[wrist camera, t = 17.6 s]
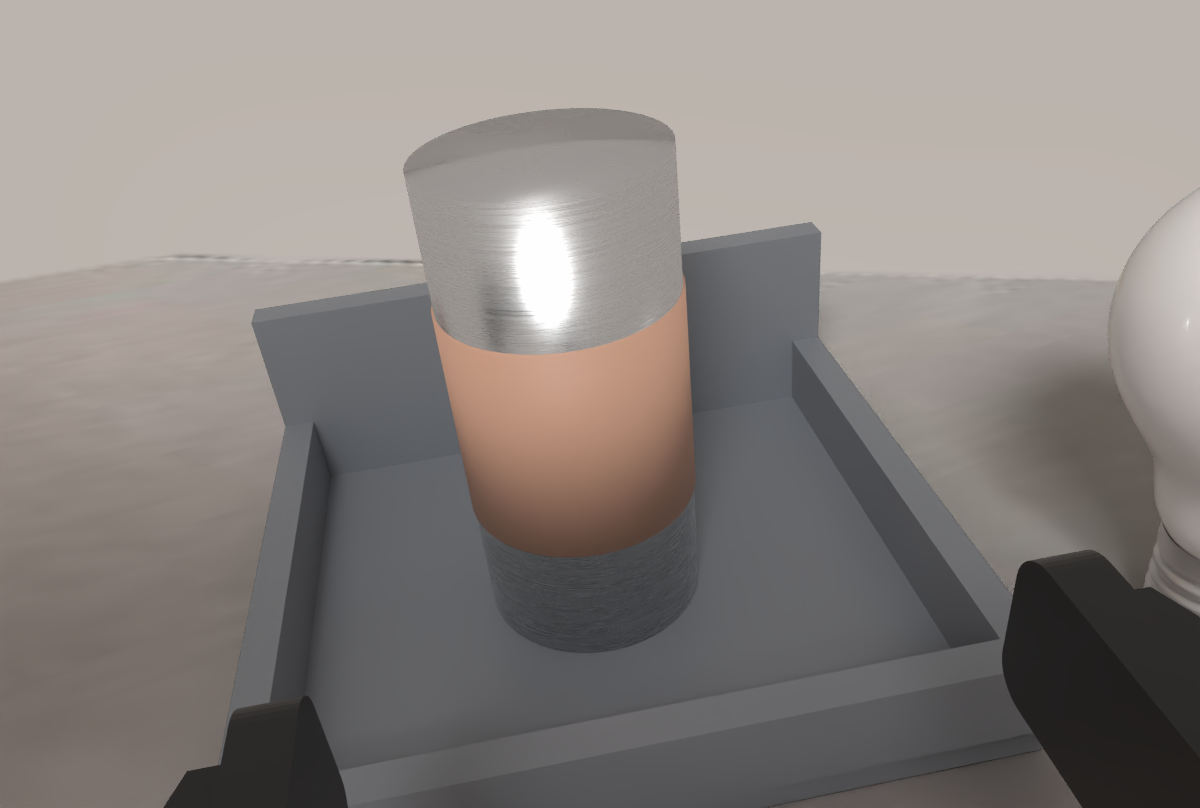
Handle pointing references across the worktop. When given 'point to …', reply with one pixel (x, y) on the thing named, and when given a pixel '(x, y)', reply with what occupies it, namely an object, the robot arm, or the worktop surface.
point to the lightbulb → (1165, 385)
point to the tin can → (567, 365)
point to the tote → (670, 658)
